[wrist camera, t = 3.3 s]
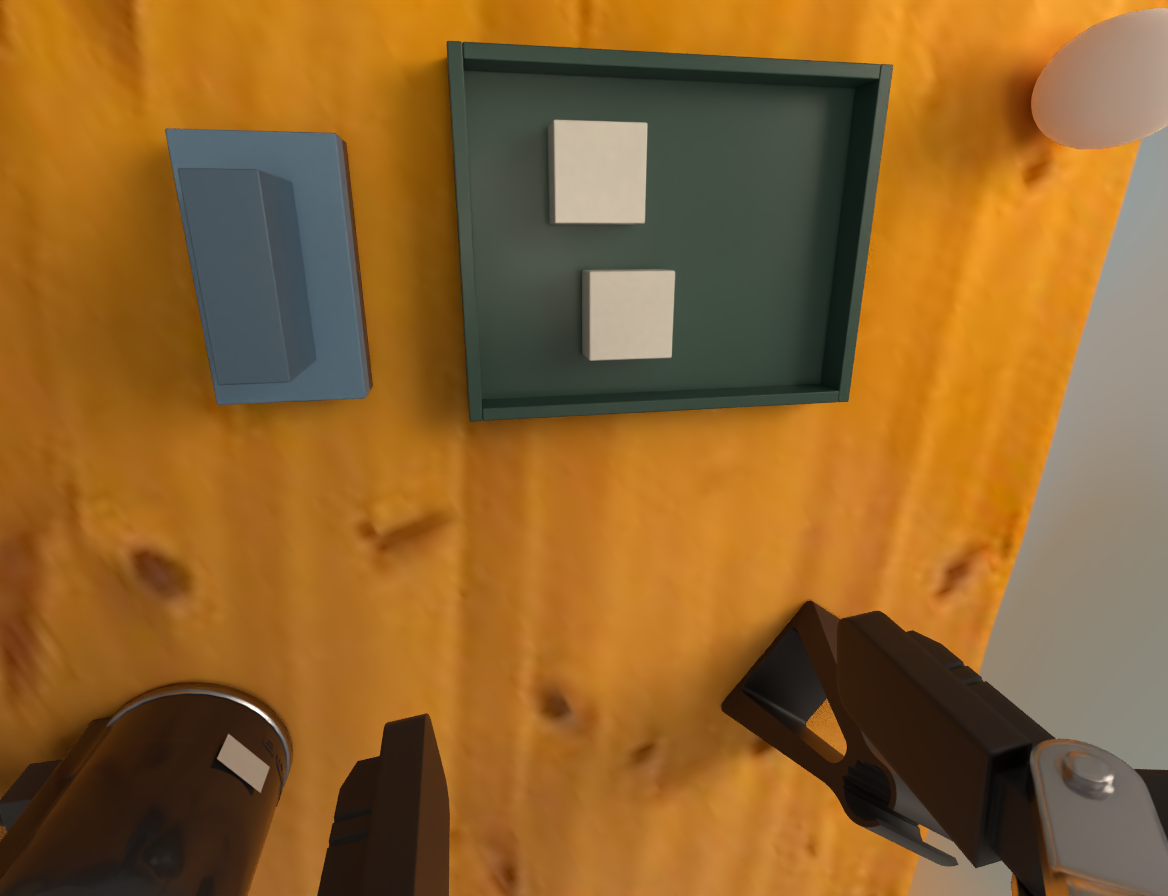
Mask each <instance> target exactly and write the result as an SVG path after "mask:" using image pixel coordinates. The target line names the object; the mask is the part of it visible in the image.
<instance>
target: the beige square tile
mask: <svg viewBox="0 0 1168 896" xmlns="http://www.w3.org/2000/svg"><path fill="white" fill-rule="evenodd" d="M674 287H675V271H674V270H667V269H608V270H583V271H582V353H583V355H584V356H585V357H586V358H587V359H589V360H590V361H599V360H626V359H654V358H671V356H672V335H673V311H674Z"/></svg>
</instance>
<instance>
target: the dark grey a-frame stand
mask: <svg viewBox="0 0 1168 896" xmlns="http://www.w3.org/2000/svg"><path fill="white" fill-rule="evenodd" d="M839 621H840V619H838V618H837V617H835V616H834V615H832V614H831V613H829V612H828V611H826V610H825V609H823V608H822V607H820V606H818V605H817V604H815V603H814V602H812V601H808V602H806V604H805V605H804V606H803V607H802V608H801V610H800V611H799V612H798V613H797V614H796V616H795V617H794V618H793V619H792V620H791V622H790V623H789V624H788V625H787V626H786V628H785V629H784V630H783V631H782V632H781V634H780V635H779V636H778V637H777V638H776V640H775V641H774V642H773V643H772V644H771V646H770V647H769V648H768V649H767V650H766V655H765V656H761V658H760V659H759V660H758V661H757V662H756V664H755V665H754V666H753V667H752V668H751V670H750V671H749V672H748V673H747V675H746V676H745V677H744V678H743V679H742V681H741V682H740V683H739V684H738V685H737V687H736V688H735V689H734V690H733V691H732V693H731V694H730V695H729V696H728V697H727V699H726V700H725V701H724V702H723V704H722V711H723V712H724V713H726V714H727V715H729V716H730V717H732V718H733V719H734V720H736V721H737V722H739V723H740V724H742V725H743V726H744V727H746V728H747V729H749V730H750V731H752V732H753V733H754V734H756V735H757V736H759V737H760V738H762V739H763V740H764V741H766V742H767V743H769V744H770V745H772V746H773V747H774V748H776V749H777V750H779V751H780V752H782V753H783V754H784V755H786V756H787V757H789V758H790V759H792V760H793V761H794V762H796V763H797V764H799V765H800V766H802V767H803V768H804V769H806V770H807V771H809V772H810V773H812V774H813V775H814V776H816V777H817V778H819V779H820V780H822V781H823V782H824V783H826V784H827V785H828V786H829V787H830V788H831V789H832V791H833V792H834V793H835V795H836V796H837V798H838V799H839V801H840V803H841V805H842V807H843V809H844V811H845V813H846V814H847V816H848V817H849V818H850V819H851V820H852V821H853V822H855V823H856V824H858V825H860V826H862V827H864V828H866V829H868V830H870V831H872V832H874V833H876V834H878V835H880V836H882V837H884V838H886V839H888V840H890V841H892V842H894V843H896V844H898V845H900V846H902V847H904V848H906V849H908V850H910V851H912V852H914V853H916V854H918V855H921V856H923V857H925V858H927V859H929V860H931V861H933V862H935V863H937V864H939V865H942V866H956V865H958V863H957V860H956V858H954V857H952V856H950V855H948V854H946V853H945V852H943V851H941V850H939V849H936V848H934V847H932V846H931V845H929V844H927V843H925V842H923V841H922V838H921V835H920V829H919V827H918V826H917V825H919V824H921V825H922V826H924V827H926V828H928V829H930V830H932V831H934V832H936V833H938V834H940V835H942V836H944V837H946V838H947V839H950V840H951V841H953V840H952V839H951V838H950V837H949V836H948V834H947V833H946V832H945V831H944V830H943V828H942V827H941V826H940V825H939V824H938V822H937V821H936V820H935V819H934V817H933V816H932V815H931V814H930V813H929V811H928V810H927V809H926V808H925V807H924V805H923V804H922V803H921V802H920V801H919V799H918V798H917V797H916V796H915V795H914V793H913V792H912V791H911V790H910V789H909V787H908V786H907V785H906V784H905V783H904V781H903V780H902V779H901V778H900V777H899V775H898V774H897V773H896V772H895V770H894V769H893V768H892V767H891V766H890V764H889V763H888V762H887V761H886V760H885V758H884V757H883V756H882V755H881V754H880V752H879V751H878V750H877V749H876V748H875V746H874V745H873V744H872V743H871V742H870V740H869V739H868V738H867V737H866V736H865V734H864V733H863V732H862V731H861V730H860V728H859V727H858V726H857V725H856V723H855V722H854V721H853V720H852V719H851V717H850V716H849V715H848V713H847V712H846V710H845V709H844V707H843V705H842V702H841V700H840V697H839V694H838V690H837V684H836V665H837V626H838V623H839ZM826 699H828V701H829V703H830V706H831V708H832V710H833V713H834V715H835V717H836V719H837V722H838V724H839V726H840V729H841V731H842V733H843V735H844V738H845V740H846V743H847V751H846V754H845V756H843V755H842V754H841V753H839V752H838V751H837V750H835V749H834V748H833V747H831V746H830V745H829V744H828V743H826V742H825V741H824V740H822V739H821V738H820V737H819V736H817V735H816V734H815V733H813V732H812V731H811V730H809V729H808V728H807V727H806V722H807V721H808V719H809V718H810V717H811V716H812V715H813V714H814V712H815V711H816V710H817V709H818V708H819V707H820V705H821V704H822V703H823V702H824V701H825V700H826Z"/></svg>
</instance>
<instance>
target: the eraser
mask: <svg viewBox="0 0 1168 896" xmlns="http://www.w3.org/2000/svg"><path fill="white" fill-rule="evenodd" d="M165 132H166V138H167V143H168V148H169V154H170V159H171V164H172V169H173V175H174V180H175V185H176V190H177V196H178V201H179V206H180V211H181V217H182V222H183V227H184V232H185V238H186V243H187V248H188V254H189V259H190V264H191V269H192V275H193V280H194V285H195V290H196V296H197V301H198V306H199V311H200V317H201V322H202V327H203V332H204V338H205V343H206V348H207V354H208V359H209V364H210V369H211V375H212V380H213V385H214V390H215V396H216V401H217V404H218V405H228V404H251V403H273V402H295V401H318V400H340V399H362V398H366V396H367V395H368V393H369V391H370V390H371V388H372V386H373V384H372V375H371V366H370V356H369V347H368V338H367V329H366V320H365V311H364V301H363V292H362V283H361V274H360V265H359V256H358V247H357V237H356V228H355V219H354V210H353V201H352V192H351V182H350V173H349V164H348V155H347V146H346V142H344V141H343V140H342V139H341V138H340V137H339V136H338V135H336V134H335V133H314V132H277V131H241V130H204V129H165Z"/></svg>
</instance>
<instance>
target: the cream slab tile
mask: <svg viewBox="0 0 1168 896" xmlns="http://www.w3.org/2000/svg"><path fill="white" fill-rule="evenodd" d="M646 160H647V123H643V122H613V121H582V120H553V122H552V123H551V124H550V125H549V127H548V170H549V223H550V224H612V225H634V224H644V223H645V198H646Z"/></svg>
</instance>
